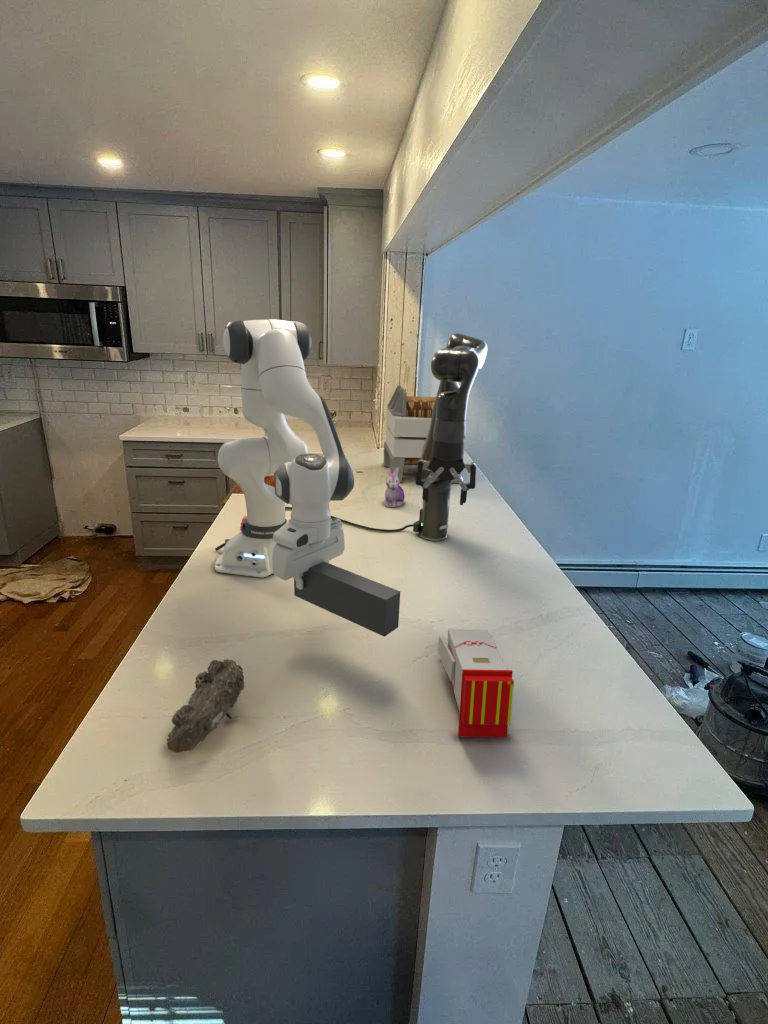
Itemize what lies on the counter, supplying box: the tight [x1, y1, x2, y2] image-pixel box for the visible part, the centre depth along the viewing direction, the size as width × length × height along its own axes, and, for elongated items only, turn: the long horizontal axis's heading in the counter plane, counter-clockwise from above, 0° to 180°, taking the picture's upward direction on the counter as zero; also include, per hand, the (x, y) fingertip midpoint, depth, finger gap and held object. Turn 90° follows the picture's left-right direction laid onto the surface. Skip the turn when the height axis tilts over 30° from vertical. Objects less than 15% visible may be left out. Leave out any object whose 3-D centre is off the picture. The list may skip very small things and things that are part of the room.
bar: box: [293, 562, 401, 637], centre depth 125 cm, size 26×5×9 cm, turn 53°
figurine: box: [383, 467, 405, 508], centre depth 227 cm, size 9×10×15 cm
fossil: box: [166, 658, 245, 754], centre depth 106 cm, size 22×10×15 cm
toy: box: [437, 628, 515, 738], centre depth 117 cm, size 12×13×30 cm
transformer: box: [383, 384, 462, 484], centre depth 268 cm, size 34×33×41 cm
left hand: (310, 583), depth 131 cm, fingers closed on bar, 5 cm apart
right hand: (443, 503), depth 138 cm, fingers open, 8 cm apart
